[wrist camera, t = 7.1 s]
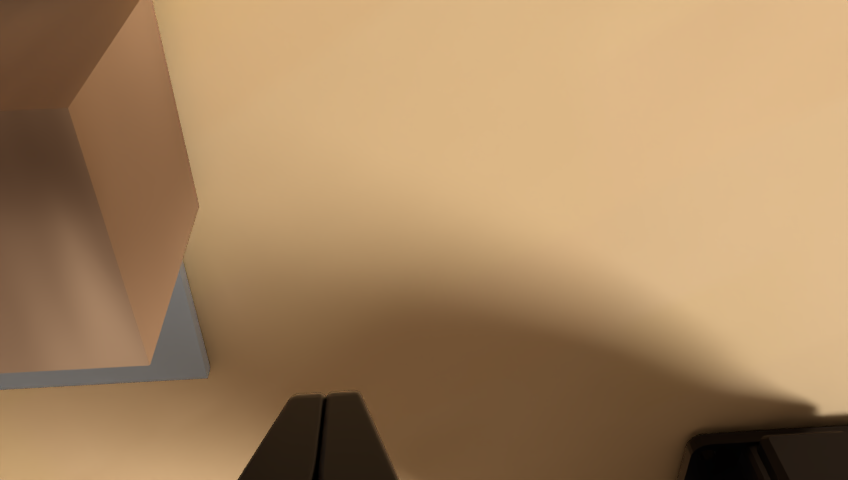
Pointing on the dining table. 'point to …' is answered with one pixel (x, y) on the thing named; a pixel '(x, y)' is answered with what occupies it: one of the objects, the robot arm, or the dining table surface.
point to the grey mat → (171, 360)
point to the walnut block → (87, 185)
